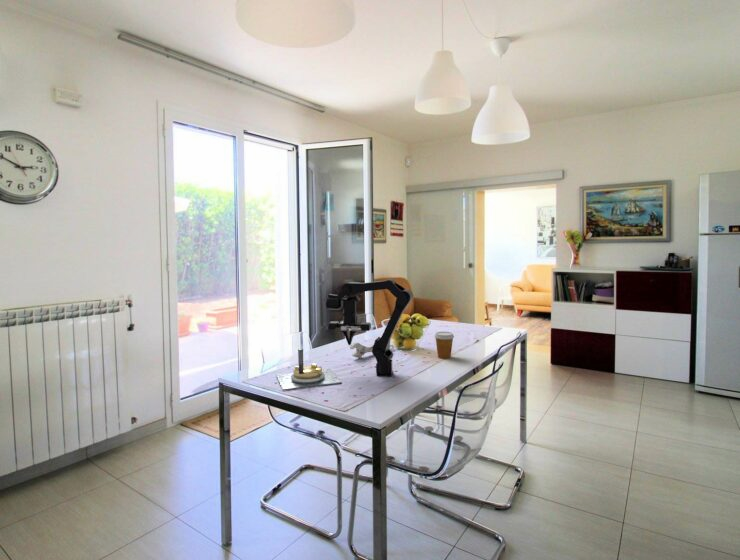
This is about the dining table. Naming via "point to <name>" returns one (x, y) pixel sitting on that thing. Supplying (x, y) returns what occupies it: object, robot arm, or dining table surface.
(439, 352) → the disposable coffee cup
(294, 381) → the gray metal base plate
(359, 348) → the wrench
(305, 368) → the brass chuck with rod
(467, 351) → the dining table surface
